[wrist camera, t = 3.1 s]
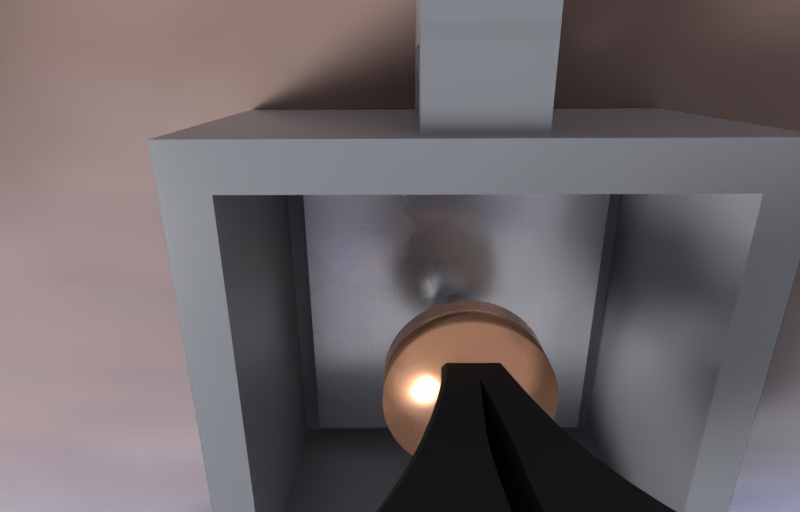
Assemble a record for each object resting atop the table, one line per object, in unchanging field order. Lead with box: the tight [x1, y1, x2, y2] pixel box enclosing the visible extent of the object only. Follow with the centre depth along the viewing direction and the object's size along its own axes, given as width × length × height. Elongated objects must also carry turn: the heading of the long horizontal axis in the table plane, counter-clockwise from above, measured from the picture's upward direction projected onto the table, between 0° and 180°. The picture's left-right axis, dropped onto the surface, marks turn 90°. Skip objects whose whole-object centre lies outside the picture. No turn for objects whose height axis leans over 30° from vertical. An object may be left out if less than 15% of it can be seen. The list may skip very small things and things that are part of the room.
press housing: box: [148, 0, 800, 512], centre depth 14 cm, size 15×12×6 cm
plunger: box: [303, 194, 610, 456], centre depth 14 cm, size 9×9×5 cm
